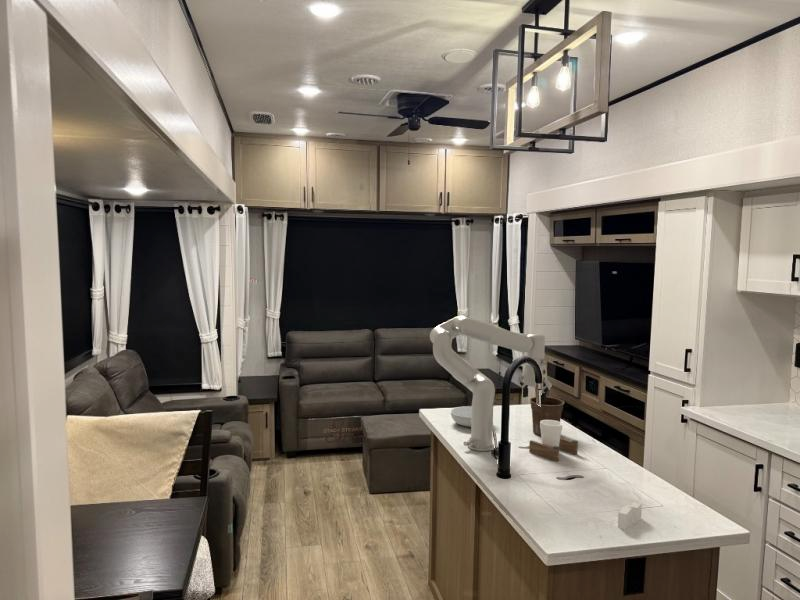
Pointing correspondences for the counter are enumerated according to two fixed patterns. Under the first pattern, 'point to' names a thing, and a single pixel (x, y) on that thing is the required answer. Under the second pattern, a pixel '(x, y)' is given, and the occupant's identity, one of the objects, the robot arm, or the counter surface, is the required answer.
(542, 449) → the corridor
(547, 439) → the foam cup
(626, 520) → the napkin holder
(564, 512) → the counter surface
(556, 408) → the plant pot
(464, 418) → the serving bowl
